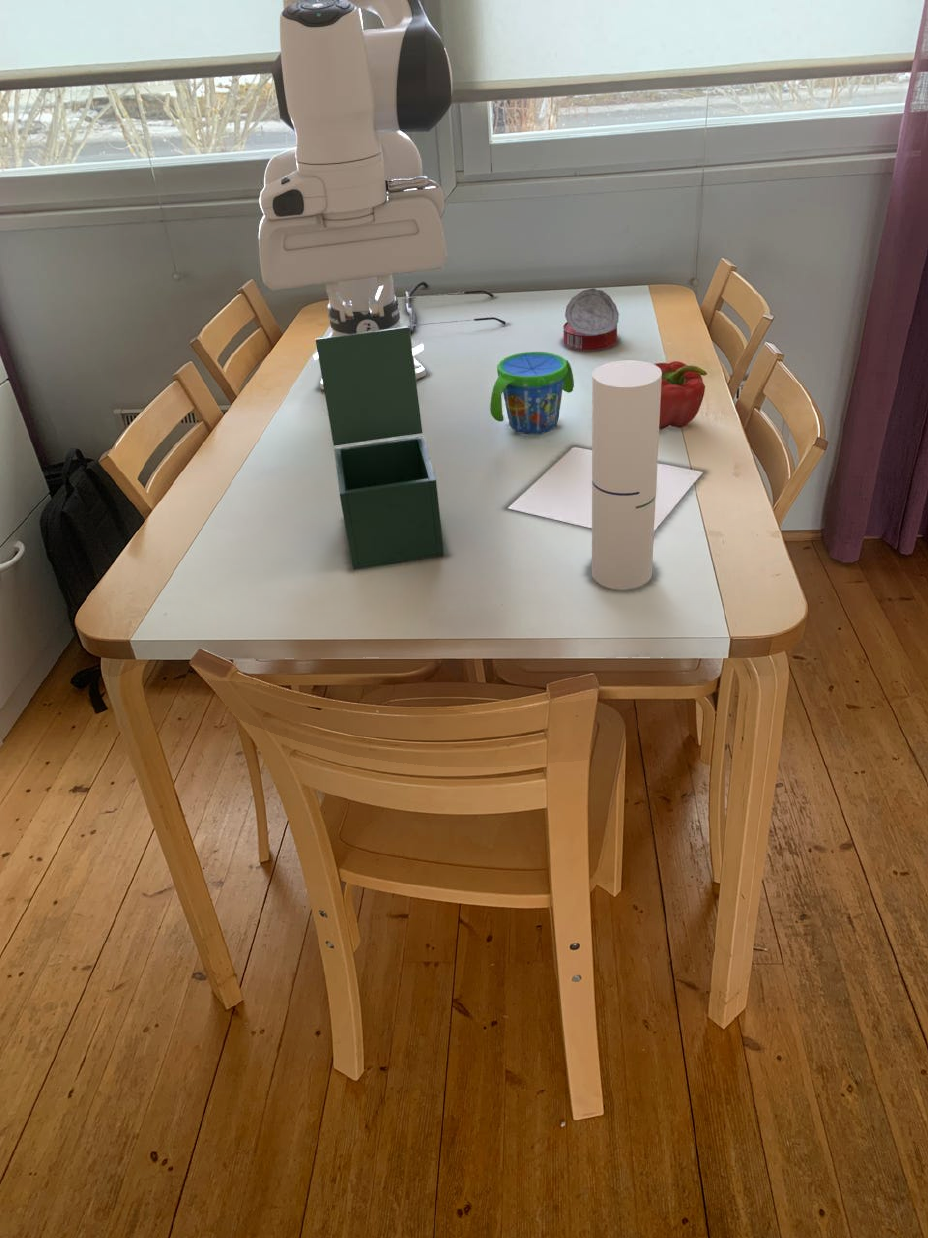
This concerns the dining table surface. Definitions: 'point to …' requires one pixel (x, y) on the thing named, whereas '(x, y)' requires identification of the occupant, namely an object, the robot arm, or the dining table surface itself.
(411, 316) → the eyeglasses
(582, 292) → the canned food
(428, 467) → the dark green hollow box
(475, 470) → the dining table surface
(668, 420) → the vegetable
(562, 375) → the snack cup
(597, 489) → the cylindrical container
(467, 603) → the dining table surface
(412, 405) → the tin lid
